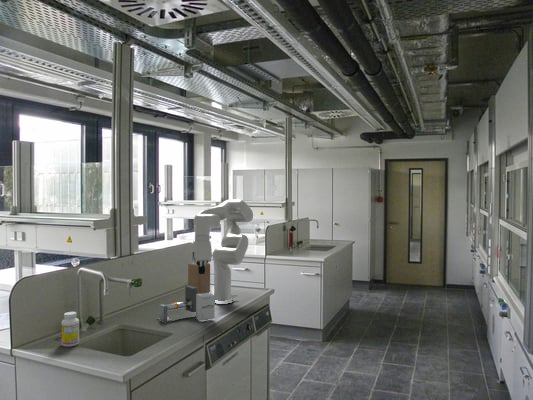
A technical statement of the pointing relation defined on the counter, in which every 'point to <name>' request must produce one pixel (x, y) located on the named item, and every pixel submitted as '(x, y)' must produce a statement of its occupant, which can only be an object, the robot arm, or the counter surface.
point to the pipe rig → (172, 307)
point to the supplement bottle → (70, 330)
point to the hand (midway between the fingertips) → (201, 273)
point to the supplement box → (205, 306)
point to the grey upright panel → (191, 297)
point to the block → (199, 278)
